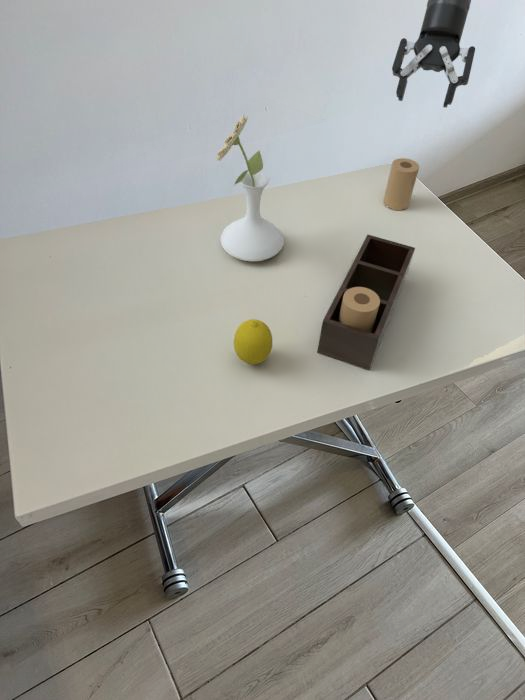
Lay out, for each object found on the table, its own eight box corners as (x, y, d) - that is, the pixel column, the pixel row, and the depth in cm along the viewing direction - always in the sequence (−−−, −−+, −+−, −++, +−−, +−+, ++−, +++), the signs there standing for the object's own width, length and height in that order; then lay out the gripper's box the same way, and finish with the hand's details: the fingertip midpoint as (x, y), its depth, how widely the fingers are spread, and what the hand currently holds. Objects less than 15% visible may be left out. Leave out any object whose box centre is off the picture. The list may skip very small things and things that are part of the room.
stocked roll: (352, 323, 84) (362, 281, 77) (375, 343, 81) (388, 302, 74) (327, 336, 81) (335, 295, 75) (350, 357, 79) (361, 316, 72)
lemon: (241, 379, 76) (242, 341, 70) (228, 352, 79) (228, 313, 74) (276, 369, 78) (280, 331, 72) (262, 343, 81) (265, 304, 75)
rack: (360, 265, 94) (367, 234, 89) (405, 279, 93) (415, 247, 87) (316, 352, 80) (322, 320, 75) (369, 370, 78) (378, 339, 73)
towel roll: (395, 193, 111) (405, 155, 105) (413, 205, 108) (425, 166, 102) (377, 201, 109) (386, 162, 102) (396, 213, 106) (406, 174, 100)
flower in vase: (248, 221, 102) (252, 87, 83) (295, 246, 97) (310, 110, 79) (201, 252, 95) (193, 113, 77) (249, 280, 90) (253, 140, 72)
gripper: (484, 25, 100) (459, 114, 103) (409, 16, 103) (386, 103, 107) (489, 5, 93) (461, 102, 96) (407, -3, 96) (384, 91, 99)
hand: (422, 102), depth 101 cm, fingers open, 8 cm apart
